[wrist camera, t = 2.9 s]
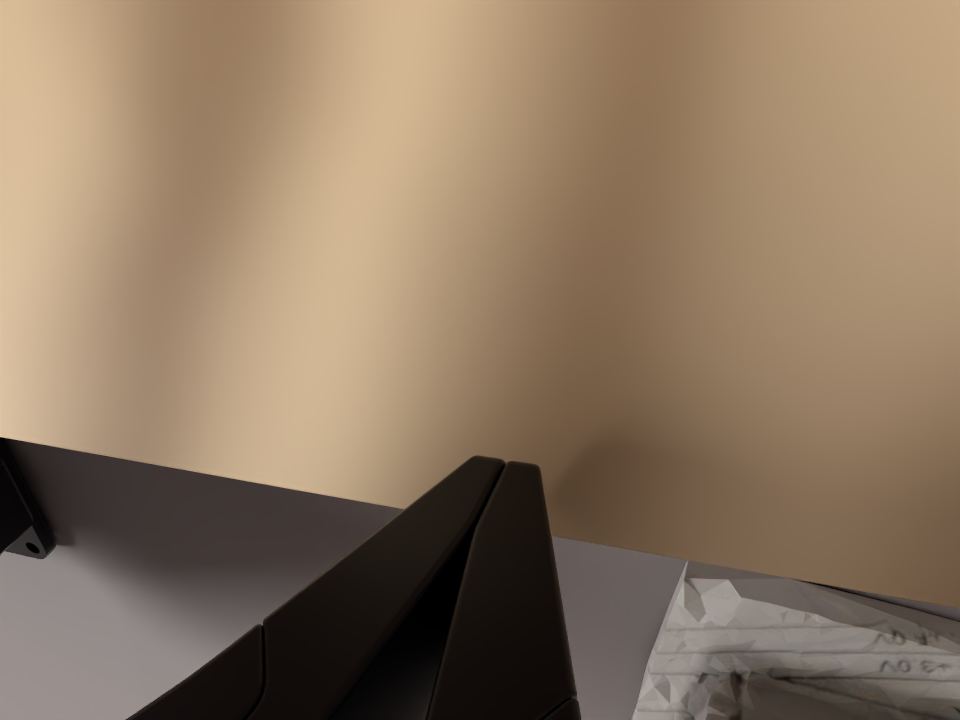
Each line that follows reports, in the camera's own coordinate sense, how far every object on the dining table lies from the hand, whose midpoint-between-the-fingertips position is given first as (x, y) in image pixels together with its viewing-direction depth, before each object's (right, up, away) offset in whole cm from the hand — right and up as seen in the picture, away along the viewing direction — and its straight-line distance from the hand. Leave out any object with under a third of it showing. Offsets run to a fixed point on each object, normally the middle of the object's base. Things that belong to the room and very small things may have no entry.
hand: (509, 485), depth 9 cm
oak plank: (+1, +3, +2) cm, 4 cm away
